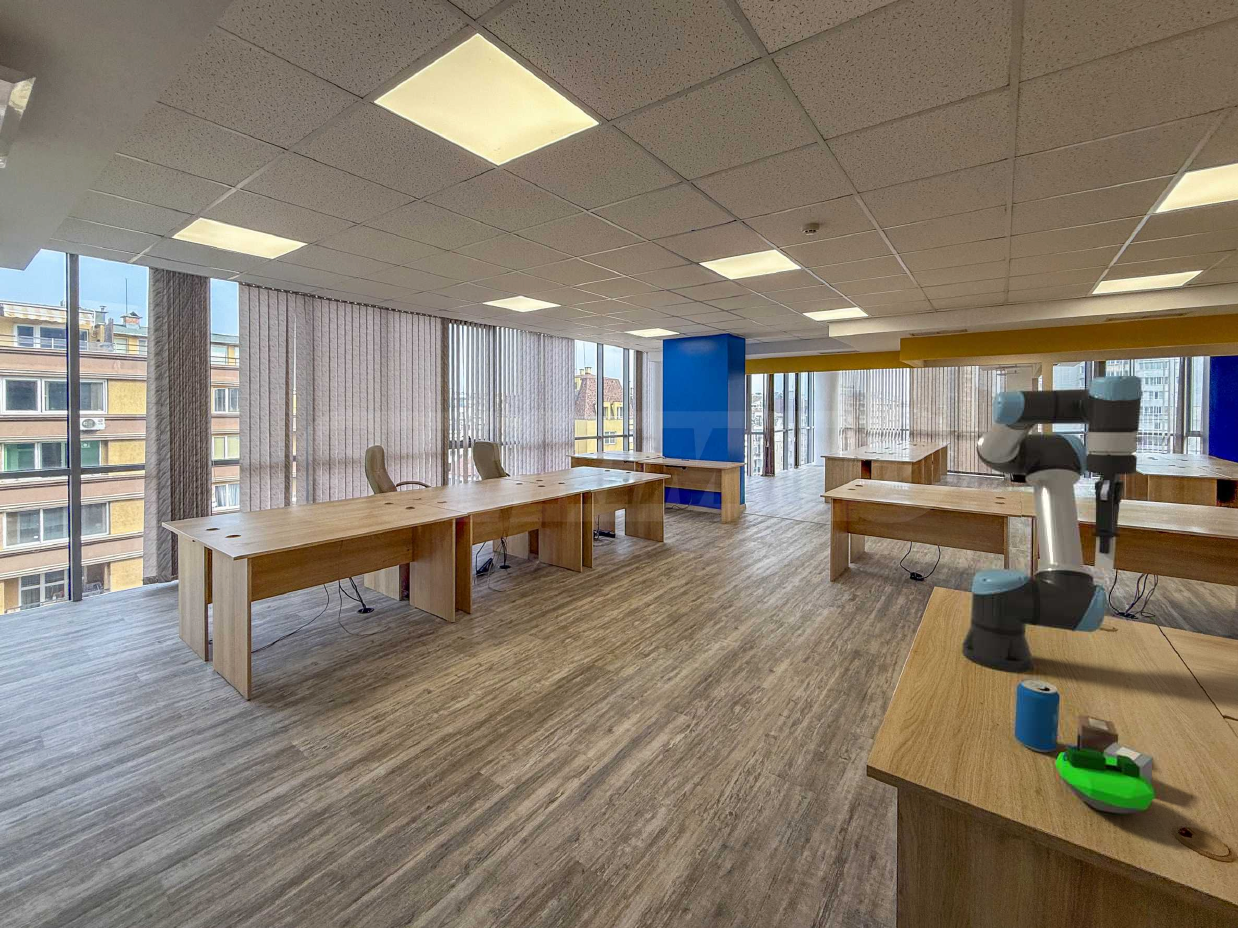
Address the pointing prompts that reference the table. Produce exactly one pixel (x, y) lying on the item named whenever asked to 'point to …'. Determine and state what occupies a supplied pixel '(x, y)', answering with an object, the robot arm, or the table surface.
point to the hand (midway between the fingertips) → (1104, 567)
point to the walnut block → (1096, 733)
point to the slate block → (1138, 757)
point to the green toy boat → (1105, 780)
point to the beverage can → (1037, 715)
